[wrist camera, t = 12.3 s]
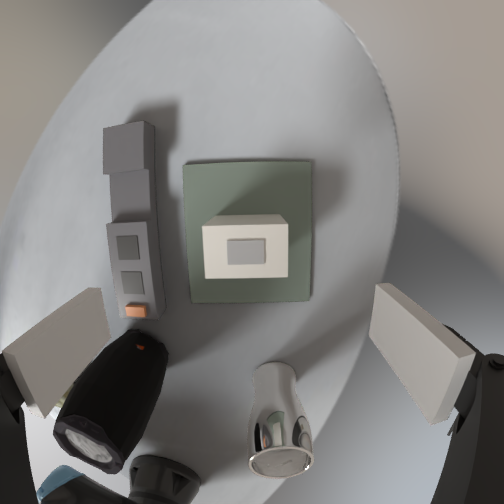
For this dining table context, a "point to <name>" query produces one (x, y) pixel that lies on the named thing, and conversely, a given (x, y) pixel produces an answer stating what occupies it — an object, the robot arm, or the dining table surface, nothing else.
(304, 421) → the beer glass
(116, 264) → the power strip
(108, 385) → the portable speaker
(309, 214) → the mat
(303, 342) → the dining table surface
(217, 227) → the block
